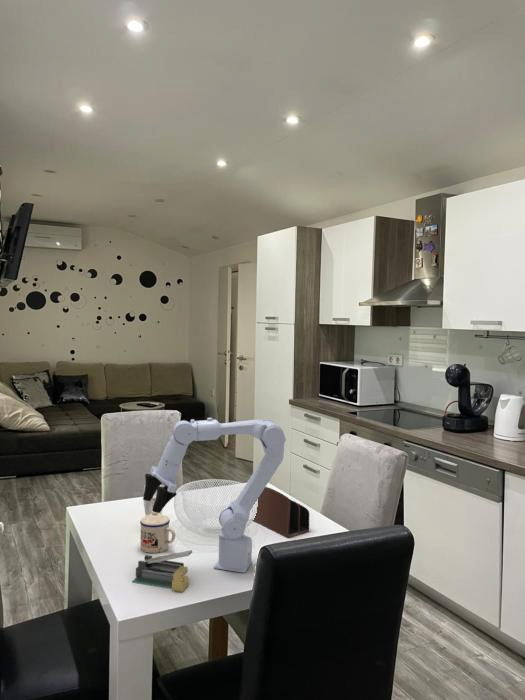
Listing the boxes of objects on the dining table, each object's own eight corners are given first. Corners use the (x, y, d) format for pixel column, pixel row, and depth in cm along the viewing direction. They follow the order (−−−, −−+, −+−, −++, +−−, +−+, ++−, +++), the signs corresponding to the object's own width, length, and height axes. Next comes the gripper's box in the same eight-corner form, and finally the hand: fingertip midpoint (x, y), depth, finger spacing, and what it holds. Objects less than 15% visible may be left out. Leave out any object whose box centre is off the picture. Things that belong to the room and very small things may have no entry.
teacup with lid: (133, 550, 172) (134, 513, 171) (151, 539, 180) (151, 504, 179) (165, 558, 167) (166, 519, 166) (182, 547, 175) (183, 510, 174)
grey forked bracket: (152, 571, 158) (152, 555, 158) (144, 578, 153) (144, 562, 153) (143, 569, 158) (143, 554, 158) (135, 576, 154) (135, 561, 154)
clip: (188, 584, 150) (189, 567, 150) (182, 592, 146) (182, 574, 146) (178, 582, 151) (178, 565, 151) (171, 590, 147) (171, 573, 146)
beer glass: (165, 525, 193) (166, 482, 192) (160, 532, 186) (161, 488, 185) (146, 523, 194) (147, 481, 193) (140, 531, 187) (140, 487, 186)
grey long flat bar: (192, 552, 153) (191, 549, 153) (189, 556, 151) (188, 553, 151) (146, 562, 157) (145, 558, 157) (142, 565, 155) (141, 562, 155)
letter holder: (287, 539, 184) (288, 497, 183) (251, 521, 200) (252, 482, 199) (309, 532, 190) (311, 492, 190) (273, 515, 206) (274, 478, 205)
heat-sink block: (187, 570, 158) (187, 560, 158) (171, 588, 148) (171, 577, 148) (150, 565, 161) (150, 555, 161) (132, 582, 151) (132, 571, 151)
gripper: (149, 449, 161) (130, 492, 161) (168, 467, 149) (147, 514, 148) (170, 455, 165) (151, 497, 164) (190, 473, 153) (170, 519, 152)
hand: (151, 505), depth 157 cm, fingers open, 7 cm apart
